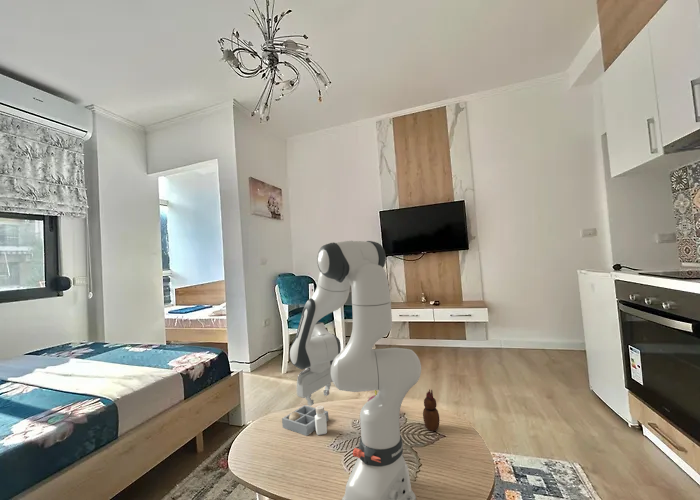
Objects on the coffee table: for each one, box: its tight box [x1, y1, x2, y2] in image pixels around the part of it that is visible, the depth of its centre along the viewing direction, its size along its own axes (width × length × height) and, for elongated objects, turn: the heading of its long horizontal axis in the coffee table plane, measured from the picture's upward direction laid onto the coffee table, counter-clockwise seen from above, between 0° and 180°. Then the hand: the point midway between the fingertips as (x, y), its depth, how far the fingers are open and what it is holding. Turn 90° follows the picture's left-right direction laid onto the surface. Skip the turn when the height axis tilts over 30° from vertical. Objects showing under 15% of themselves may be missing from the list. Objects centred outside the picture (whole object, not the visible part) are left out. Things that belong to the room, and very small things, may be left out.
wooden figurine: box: [422, 389, 441, 431], centre depth 121 cm, size 7×6×15 cm
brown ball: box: [289, 411, 300, 421], centre depth 130 cm, size 5×5×5 cm
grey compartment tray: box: [281, 404, 329, 437], centre depth 130 cm, size 13×13×4 cm
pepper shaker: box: [315, 405, 328, 436], centre depth 123 cm, size 4×4×10 cm
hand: (318, 399), depth 124 cm, fingers open, 8 cm apart
